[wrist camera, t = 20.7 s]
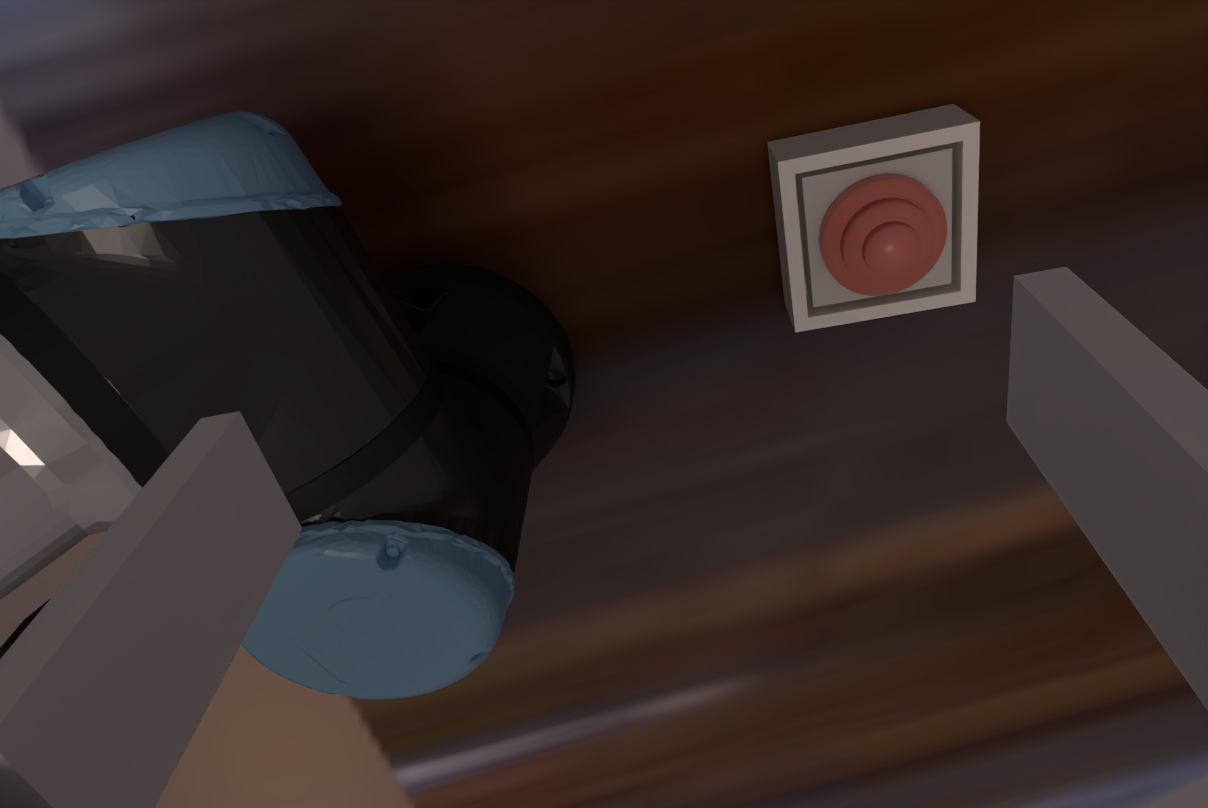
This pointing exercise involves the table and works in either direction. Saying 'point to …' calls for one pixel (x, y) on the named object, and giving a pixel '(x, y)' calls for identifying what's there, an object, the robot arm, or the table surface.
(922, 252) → the dome plunger
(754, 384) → the table surface
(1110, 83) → the table surface
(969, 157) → the popper housing
